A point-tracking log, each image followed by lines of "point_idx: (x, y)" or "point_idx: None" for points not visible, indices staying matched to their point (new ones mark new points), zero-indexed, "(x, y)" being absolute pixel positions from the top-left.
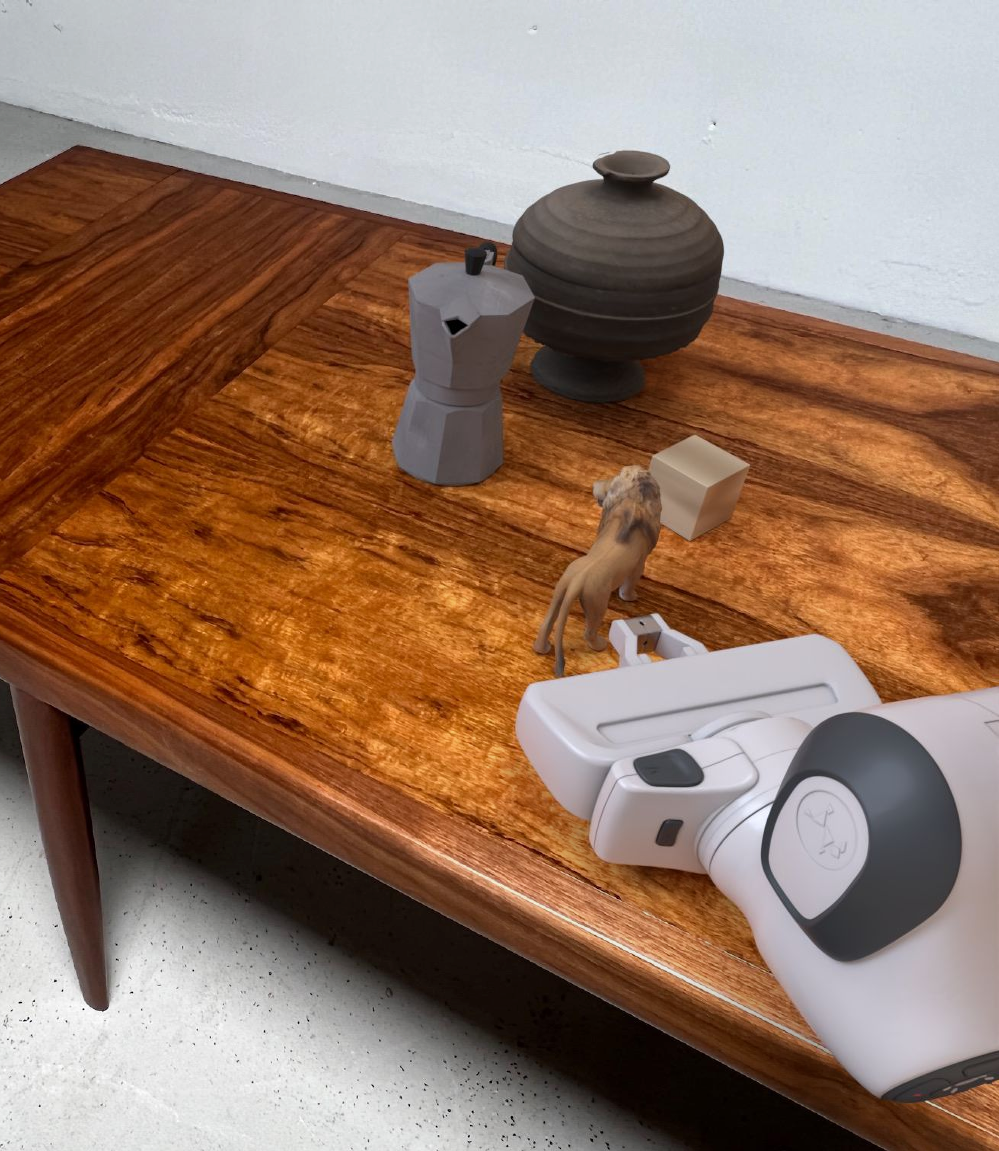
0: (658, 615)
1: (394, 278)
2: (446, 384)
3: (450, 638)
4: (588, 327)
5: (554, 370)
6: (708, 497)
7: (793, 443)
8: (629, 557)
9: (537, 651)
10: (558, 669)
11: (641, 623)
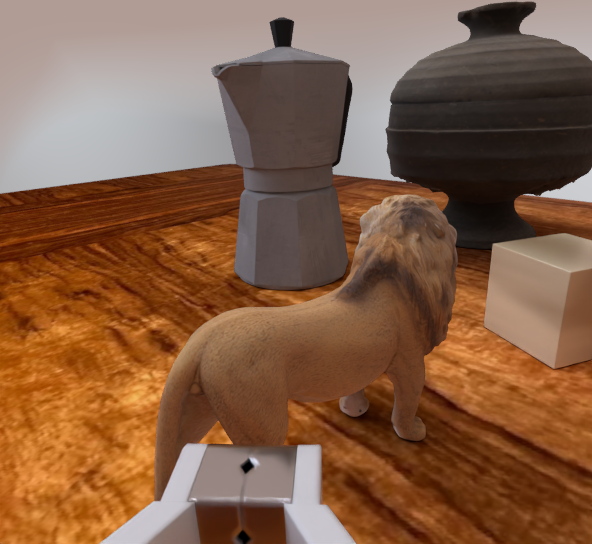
0: (315, 451)
1: (354, 194)
2: (250, 163)
3: (63, 449)
4: (445, 146)
5: None
6: (575, 293)
7: None
8: (352, 327)
9: None
10: None
11: (252, 467)
